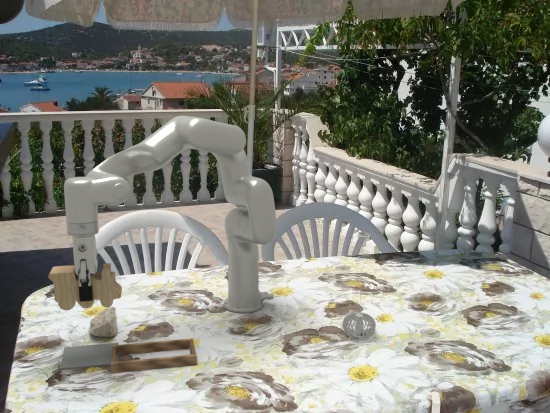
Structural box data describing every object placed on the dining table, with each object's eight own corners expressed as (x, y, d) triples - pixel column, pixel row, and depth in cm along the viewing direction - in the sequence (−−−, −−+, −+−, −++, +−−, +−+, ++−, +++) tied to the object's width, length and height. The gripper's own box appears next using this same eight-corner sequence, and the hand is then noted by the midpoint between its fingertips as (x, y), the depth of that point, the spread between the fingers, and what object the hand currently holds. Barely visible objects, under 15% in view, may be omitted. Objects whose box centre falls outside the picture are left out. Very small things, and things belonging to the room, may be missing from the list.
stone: (88, 349, 173) (86, 327, 167) (91, 314, 182) (89, 291, 176) (117, 348, 175) (115, 325, 168) (118, 313, 184) (117, 290, 177)
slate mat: (118, 343, 169) (118, 342, 168) (117, 364, 157) (117, 362, 157) (64, 348, 165) (64, 347, 165) (59, 369, 154) (59, 368, 154)
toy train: (121, 307, 157) (119, 269, 155) (50, 311, 154) (47, 273, 152) (122, 298, 162) (120, 262, 160) (54, 303, 159) (51, 266, 157)
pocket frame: (192, 346, 167) (192, 338, 167) (196, 364, 157) (196, 355, 157) (112, 353, 163) (111, 345, 162) (111, 372, 153) (110, 364, 152)
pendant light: (377, 331, 178) (383, 230, 172) (371, 344, 170) (377, 239, 163) (346, 326, 181) (350, 227, 175) (338, 339, 173) (342, 235, 166)
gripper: (96, 235, 146) (101, 307, 150) (99, 218, 162) (103, 283, 167) (63, 237, 145) (68, 310, 149) (69, 219, 161) (74, 285, 165)
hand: (87, 295), depth 158 cm, fingers closed on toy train, 5 cm apart
